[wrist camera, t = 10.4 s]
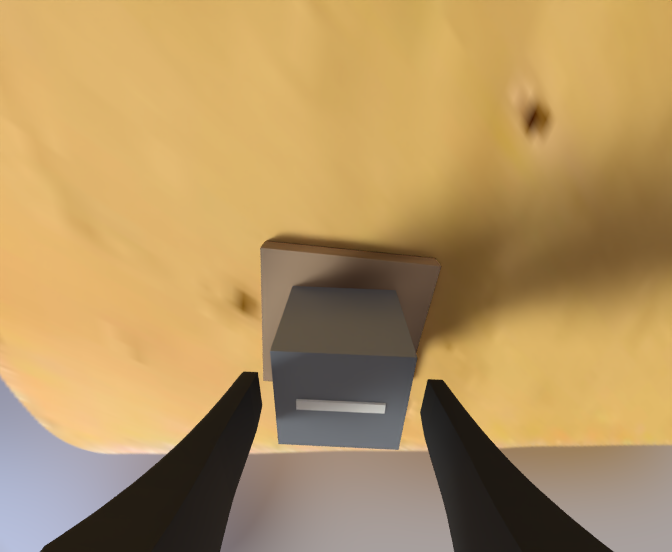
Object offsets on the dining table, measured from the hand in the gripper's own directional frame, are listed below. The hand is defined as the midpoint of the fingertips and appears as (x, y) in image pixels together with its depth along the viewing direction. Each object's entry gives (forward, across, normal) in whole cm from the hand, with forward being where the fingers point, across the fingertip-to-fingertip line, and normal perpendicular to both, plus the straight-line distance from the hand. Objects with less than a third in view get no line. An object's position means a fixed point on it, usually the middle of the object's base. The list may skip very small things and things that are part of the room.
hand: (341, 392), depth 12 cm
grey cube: (+4, 0, 0) cm, 4 cm away
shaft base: (+5, 0, 0) cm, 5 cm away
